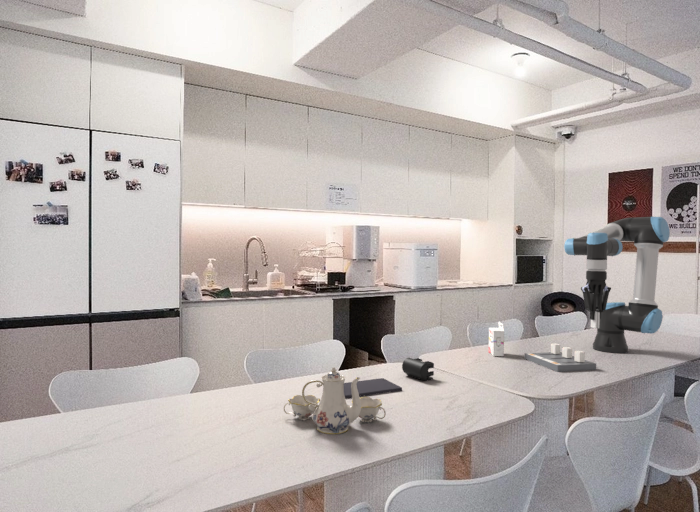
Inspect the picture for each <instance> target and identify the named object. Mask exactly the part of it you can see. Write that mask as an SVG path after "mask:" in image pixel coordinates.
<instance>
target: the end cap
mask: <svg viewBox="0 0 700 512" xmlns="http://www.w3.org/2000/svg"><path fill="white" fill-rule="evenodd" d="M434 368H435V363H434V362H432V361H430V360H427V361H423V359H422V358H419V357H417V358H416V357H415V358H411V357H406V358H405V359H404V360H403V361H402V365H401V369H402V372H403V373H404V374H405V375H407V376H409V377H410V378H411V377H412V378H415V379H418V380H421V381H424V382H428V381H432V380H431V379H433V380H434V377H433V376H434V375H435V373H434V372H435V371H434V370H432V371H429V370H430V369H434ZM427 380H428V381H427Z"/></svg>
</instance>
